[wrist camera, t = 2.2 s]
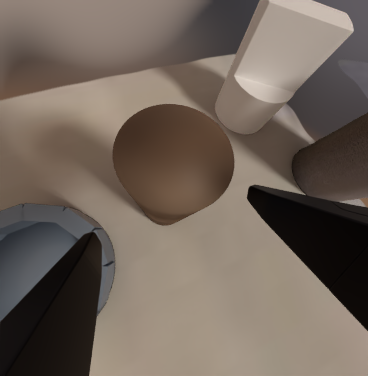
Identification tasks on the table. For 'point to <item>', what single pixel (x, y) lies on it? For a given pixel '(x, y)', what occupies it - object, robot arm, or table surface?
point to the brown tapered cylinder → (173, 161)
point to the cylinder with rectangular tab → (277, 59)
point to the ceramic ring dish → (44, 248)
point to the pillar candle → (336, 164)
